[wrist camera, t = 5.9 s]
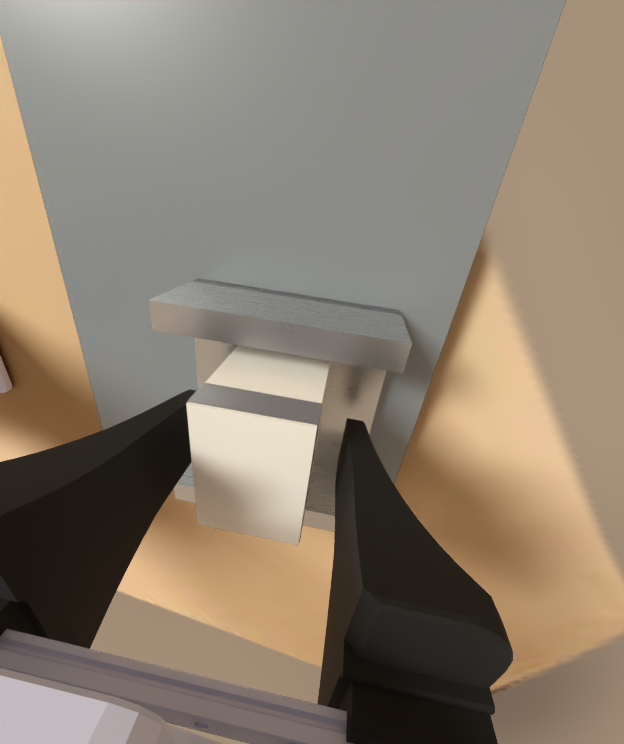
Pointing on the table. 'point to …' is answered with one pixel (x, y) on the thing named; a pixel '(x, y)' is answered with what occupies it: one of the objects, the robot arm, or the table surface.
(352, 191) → the board
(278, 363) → the block
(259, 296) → the end holder
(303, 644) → the table surface
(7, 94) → the table surface
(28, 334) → the table surface
